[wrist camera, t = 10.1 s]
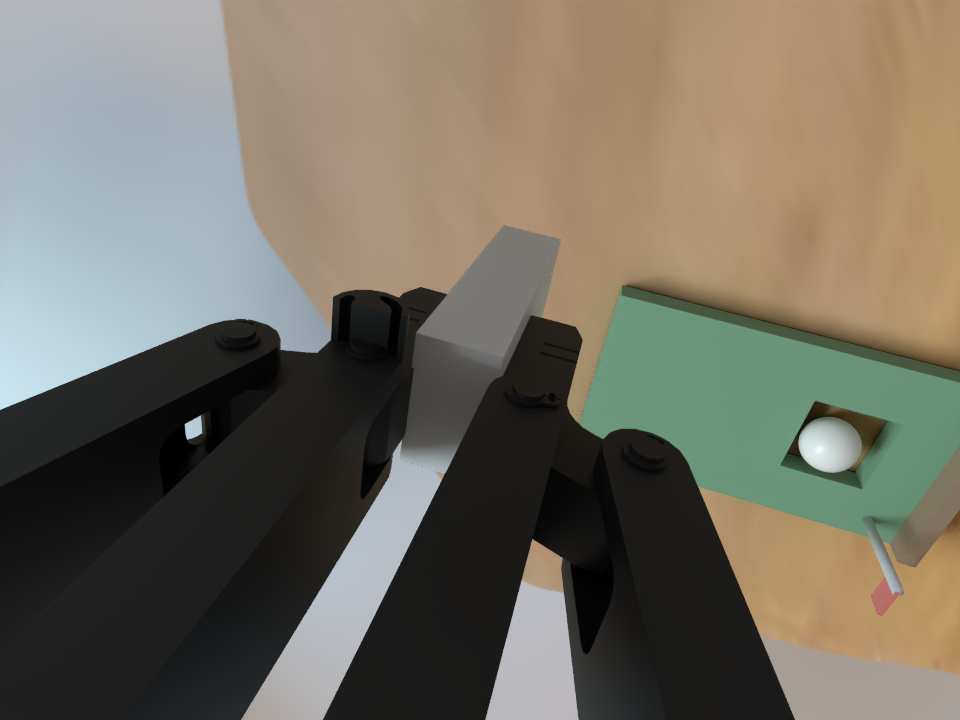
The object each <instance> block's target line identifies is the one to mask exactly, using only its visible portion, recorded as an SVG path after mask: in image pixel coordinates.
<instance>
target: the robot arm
mask: <svg viewBox="0 0 960 720" xmlns="http://www.w3.org/2000/svg"><path fill="white" fill-rule="evenodd" d="M560 241H561V239H557V238H553V237H549V236H545V235H541V234H537V233H533V232H529V231H525V230H521V229H517V228H513V227H509V226H505V225H504V226H503V227H502V229H501V230H500V231H499V232H498V233H497V235H496V236H495V237H494V238H493V239H492V241H491V242H490V243H489V244H488V246H487V247H486V248H485V249H484V250H483V252H482V253H481V254H480V255H479V257H478V258H477V259H476V260H475V261H474V263H473V264H472V265H471V266H470V268H469V269H468V270H467V271H466V272H465V274H464V275H463V276H462V277H461V279H460V280H459V281H458V282H457V283H456V285H455V286H454V287H453V288H452V290H451V291H450V292H449V293H448V294H444V293H441V292H437V291H433V290H430V289H426V288H422V287H420V288H417V289H414V290H411V291H408V292H406V293H403V294H402V295H401V296H400V297H399V298H398V297H396V296H393V295H390V294H388V293H385V292H379V291H373V290H353V291H347V292H342V293H340V294H338V295H336V296H334V297H333V311H332V332H331V341H330V342H328V343H327V345H325V346H324V347H323V348H322V349H321V350H320V351H319V352H318V353H306V352H295V351H285V350H280V337H279V334H278V332H277V331H276V330H274V329H273V328H272V327H270V326H268V325H266V324H263V323H259V322H257V321H253V320H246V319H236V320H229V321H228V320H227V321H222V322H218V323H214V324H211V325H208V326H205V327H203V328H201V329H198V330H196V331H193V332H191V333H188V334H186V335H183V336H181V337H178V338H176V339H173V340H171V341H169V342H166V343H164V344H161V345H159V346H156V347H154V348H151V349H149V350H146V351H144V352H142V353H139V354H137V355H134V356H132V357H129V358H127V359H125V360H122V361H119V362H117V363H114V364H112V365H110V366H107V367H105V368H102V369H100V370H98V371H95V372H92V373H90V374H88V375H85V376H83V377H80V378H78V379H75V380H73V381H70V382H68V383H66V384H63V385H61V386H58V387H55V388H53V389H51V390H48V391H46V392H43V393H41V394H38V395H36V396H33V397H31V398H29V399H26V400H24V401H21V402H19V403H16V404H14V405H11V406H9V407H6V408H4V409H2V410H0V720H241V718H242V717H243V716H244V714H245V712H246V711H247V709H248V707H249V705H250V704H251V702H252V701H253V699H254V697H255V696H256V694H257V693H258V691H259V689H260V688H261V686H262V684H263V683H264V681H265V679H266V678H267V676H268V674H269V673H270V671H271V670H272V668H273V666H274V665H275V663H276V661H277V660H278V658H279V656H280V655H281V653H282V652H283V650H284V648H285V647H286V645H287V643H288V642H289V640H290V638H291V637H292V635H293V633H294V632H295V630H296V629H297V627H298V625H299V624H300V622H301V620H302V619H303V617H304V615H305V614H306V612H307V610H308V609H309V607H310V606H311V604H312V602H313V600H314V599H315V597H316V596H317V594H318V592H319V591H320V589H321V588H322V586H323V584H324V583H325V581H326V579H327V577H328V576H329V574H330V573H331V571H332V569H333V568H334V566H335V564H336V562H337V561H338V560H339V558H340V556H341V555H342V553H343V551H344V550H345V548H346V546H347V545H348V543H349V542H350V540H351V538H352V537H353V535H354V533H355V532H356V530H357V528H358V527H359V525H360V523H361V522H362V520H363V519H364V517H365V515H366V513H367V512H368V510H369V509H370V507H371V505H372V504H373V502H374V501H375V499H376V497H377V496H378V494H379V492H380V491H381V489H382V487H383V486H384V484H385V482H386V481H387V479H388V478H389V474H390V471H391V465H392V457H393V452H394V451H395V449H396V448H397V446H398V444H399V443H400V441H401V440H402V446H401V453H400V460H401V461H405V462H408V463H411V464H414V465H417V466H421V467H424V468H427V469H430V470H433V471H437V472H440V473H443V474H445V475H444V477H443V479H442V481H441V483H440V485H439V487H438V489H437V491H436V493H435V495H434V497H433V499H432V501H431V503H430V505H429V507H428V509H427V511H426V513H425V515H424V517H423V519H422V521H421V523H420V525H419V527H418V529H417V531H416V533H415V535H414V538H413V539H412V541H411V543H410V546H409V547H408V549H407V552H406V553H405V555H404V557H403V560H402V562H401V564H400V566H399V568H398V570H397V572H396V574H395V576H394V578H393V580H392V582H391V584H390V586H389V588H388V590H387V592H386V594H385V596H384V598H383V600H382V602H381V604H380V606H379V608H378V610H377V612H376V614H375V616H374V618H373V620H372V622H371V624H370V626H369V628H368V630H367V632H366V634H365V636H364V638H363V640H362V642H361V644H360V646H359V648H358V650H357V652H356V654H355V656H354V658H353V660H352V663H351V664H350V667H349V668H348V670H347V672H346V675H345V676H344V678H343V681H342V682H341V684H340V686H339V689H338V691H337V693H336V695H335V697H334V699H333V701H332V703H331V705H330V707H329V709H328V711H327V713H326V715H325V717H324V719H323V720H485V719H486V715H487V711H488V707H489V703H490V699H491V696H492V692H493V688H494V684H495V680H496V676H497V672H498V669H499V665H500V661H501V657H502V653H503V649H504V646H505V642H506V638H507V634H508V630H509V626H510V622H511V618H512V615H513V611H514V607H515V603H516V599H517V595H518V592H519V588H520V584H521V580H522V576H523V572H524V569H525V565H526V561H527V557H528V553H529V549H530V545H531V542H532V539H534V540H535V541H537V542H538V543H540V544H541V545H543V546H545V547H546V548H548V549H549V550H551V551H553V552H554V553H556V554H557V555H559V556H560V557H562V558H563V560H562V567H561V570H562V579H563V588H564V596H565V605H566V614H567V623H568V631H569V639H570V648H571V657H572V666H573V674H574V683H575V692H576V701H577V709H578V718H579V720H795V719H794V716H793V714H792V711H791V709H790V707H789V704H788V702H787V699H786V698H785V695H784V692H783V690H782V687H781V685H780V683H779V680H778V678H777V676H776V673H775V671H774V668H773V666H772V663H771V661H770V659H769V656H768V654H767V652H766V649H765V647H764V644H763V642H762V640H761V637H760V635H759V632H758V630H757V627H756V625H755V623H754V620H753V618H752V615H751V613H750V610H749V608H748V606H747V603H746V601H745V598H744V596H743V594H742V591H741V589H740V586H739V584H738V582H737V579H736V577H735V574H734V572H733V570H732V567H731V565H730V562H729V560H728V558H727V555H726V553H725V550H724V548H723V546H722V543H721V541H720V538H719V536H718V534H717V531H716V529H715V526H714V524H713V522H712V519H711V517H710V514H709V512H708V510H707V507H706V505H705V502H704V500H703V497H702V495H701V493H700V490H699V488H698V485H697V483H696V481H695V478H694V476H693V473H692V471H691V469H690V466H689V464H688V462H687V460H686V459H685V457H684V456H683V454H682V453H681V451H680V450H679V449H677V448H676V447H675V446H674V445H672V444H671V443H670V442H669V441H667V440H665V439H664V438H662V437H660V436H657V435H656V434H653V433H651V432H646V431H642V430H639V429H619V430H615V431H612V432H610V433H609V434H608V435H607V436H606V437H605V438H604V439H602V438H600V437H598V436H596V435H595V434H593V433H591V432H590V431H588V430H586V429H585V428H583V427H582V426H581V425H580V424H579V423H577V422H576V421H575V419H574V418H573V417H572V415H571V414H570V412H569V410H568V407H567V399H568V395H569V392H570V388H571V384H572V380H573V376H574V372H575V368H576V364H577V360H578V356H579V352H580V349H581V345H582V341H583V340H582V338H581V336H580V334H579V332H578V330H577V328H576V327H574V326H570V325H567V324H563V323H559V322H555V321H552V320H548V319H544V318H542V315H543V310H544V306H545V302H546V298H547V294H548V290H549V286H550V282H551V278H552V274H553V270H554V266H555V261H556V257H557V253H558V249H559V245H560ZM200 415H201V420H202V434H200V435H199V436H197V437H195V438H192V439H189V440H187V438H186V434H185V424H186V423H187V422H189V421H191V420H193V419H195V418H197V417H199V416H200Z"/></svg>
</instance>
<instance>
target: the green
mask: <svg viewBox="0 0 960 720" xmlns="http://www.w3.org/2000/svg"><path fill="white" fill-rule="evenodd" d="M815 401H818V402H822V403H825V404H829V405H833V406H836V407H840V408H844V409H847V410H851V411H855V412H859V413H862V414H866V415H870V416H873V417H877V418H881V419H884V420H888V422H887V423H886V425H885V426H884V428H883V430H882V431H881V433H880V434H879V436H878V437H877V439H876V441H875V442H874V444H873V445H872V447H871V449H870V450H869V452H868V453H867V455H866V457H865V458H864V460H863V461H862V463H861V464H860V466H859V468H858V469H857V471H856V472H855V473H854V472H851V471H847V470H844V471H841V472H835V473H831V472H824V471H820V470H818V469H816V468H814V467H812V466H811V465H810V464H808V463H807V462H806V461H805V460H804V458H801V457H798V456H794V455H791V454H787V451H788V449H789V448H790V446H791V444H792V442H793V440H794V438H795V437H796V435H797V433H798V431H799V429H800V427H801V425H802V424H803V422H804V420H805V418H806V416H807V414H808V413H809V411H810V409H811V407H812V405H813V403H814V402H815ZM579 424H580V425H581V426H582V427H583V428H585V429H586V430H588V431H590V432H591V433H593V434H595V435H596V436H598V437H600V438H602V439H604V438H605V437H606V436H607V435H608V434H609V433H610V432H612V431H615V430H619V429H639V430H642V431H646V432H651V433H653V434H656V435H657V436H660V437H662V438H664V439H665V440H667V441H669V442H670V443H671V444H672V445H674V446H675V447H676V448H677V449H679V450H680V451H681V453H682V454H683V456H684V457H685V459H686V460H687V462H688V464H689V466H690V469H691V471H692V473H693V476H694V478H695V481H696V483H697V485H698V486H699V487H702V488H705V489H709V490H712V491H716V492H719V493H722V494H726V495H729V496H732V497H736V498H739V499H742V500H746V501H749V502H753V503H756V504H759V505H763V506H766V507H769V508H773V509H776V510H780V511H783V512H786V513H790V514H793V515H796V516H800V517H803V518H806V519H810V520H813V521H817V522H820V523H823V524H827V525H830V526H833V527H837V528H840V529H844V530H847V531H850V532H854V533H857V534H860V535H864V536H867V537H869V538H870V541H871V543H872V546H873V548H874V551H875V553H876V555H877V558H878V560H879V563H880V565H881V568H882V570H883V572H884V575H885V577H884V579H883V580H882V582H881V583H880V584H879V586H878V587H877V588H876V590H875V591H874V592H873V594H872V595H871V598H872V601H873V604H874V606H875V609H876V612H877V614H878V615H881V616H883V614H884V613H885V612H886V610H887V609H888V608H889V607H890V605H891V604H892V603H893V601H894V600H895V599H896V598H897V596H901V595H903V594H904V590H903V588H902V585H901V583H900V581H899V579H898V576H897V574H896V572H895V569H894V567H893V565H892V562H891V560H890V558H889V556H888V553H887V551H886V549H885V546H884V544H883V542H882V541H884V542H887V543H889V544H890V546H891V548H892V550H893V553H894V555H895V557H896V559H897V562H898V563H901V564H905V565H908V566H911V567H916V566H917V564H918V563H919V562H920V560H921V559H922V558H923V557H924V555H925V554H926V553H927V551H928V550H929V549H930V548H931V546H932V545H933V544H934V542H935V541H936V540H937V539H938V537H939V536H940V535H941V533H942V532H943V531H944V530H945V528H946V527H947V526H948V524H949V523H950V522H951V520H952V519H953V518H954V517H955V515H956V514H957V513H958V511H959V510H960V371H956V370H952V369H948V368H944V367H940V366H936V365H932V364H928V363H925V362H921V361H917V360H913V359H909V358H905V357H901V356H897V355H893V354H889V353H885V352H882V351H878V350H874V349H870V348H866V347H862V346H858V345H854V344H850V343H846V342H842V341H838V340H835V339H831V338H827V337H823V336H819V335H815V334H811V333H807V332H803V331H799V330H795V329H792V328H788V327H784V326H780V325H776V324H772V323H768V322H764V321H760V320H756V319H752V318H748V317H745V316H741V315H737V314H733V313H729V312H725V311H721V310H717V309H713V308H709V307H705V306H702V305H698V304H694V303H690V302H686V301H682V300H678V299H674V298H670V297H666V296H662V295H658V294H655V293H651V292H647V291H643V290H639V289H635V288H631V287H627V286H623V285H622V288H621V292H620V295H619V298H618V301H617V305H616V308H615V311H614V314H613V317H612V321H611V324H610V327H609V330H608V333H607V337H606V340H605V343H604V346H603V349H602V353H601V356H600V359H599V362H598V366H597V369H596V372H595V375H594V378H593V382H592V385H591V388H590V391H589V394H588V398H587V401H586V404H585V407H584V411H583V414H582V417H581V420H580V423H579Z"/></svg>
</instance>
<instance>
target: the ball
mask: <svg viewBox="0 0 960 720" xmlns="http://www.w3.org/2000/svg"><path fill="white" fill-rule="evenodd" d="M798 445H799V450H800V453H801V455H802V457H803V458H804V460H805V461H806V462H807V463H808V464H810V465H811V466H812V467H814V468H816V469H818V470H820V471H824V472H831V473H835V472H841V471H844V470H847V469H849V468H850V467H852V466H853V465H854V464H855V463H856V462H857V461H858V459H859V457H860V455H861V452H862V442H861V438H860V436H859V434H858V432H857V431H856V429H855V428H854V427H853V426H852V425H851V424H849V423H848V422H846V421H844V420H842V419H839V418H835V417H821V418H817V419H815V420H813V421H811V422H809V423H808V424H807V425H806V426H805V427H804V428H803V429H802V431H801V433H800V436H799V441H798Z"/></svg>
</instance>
